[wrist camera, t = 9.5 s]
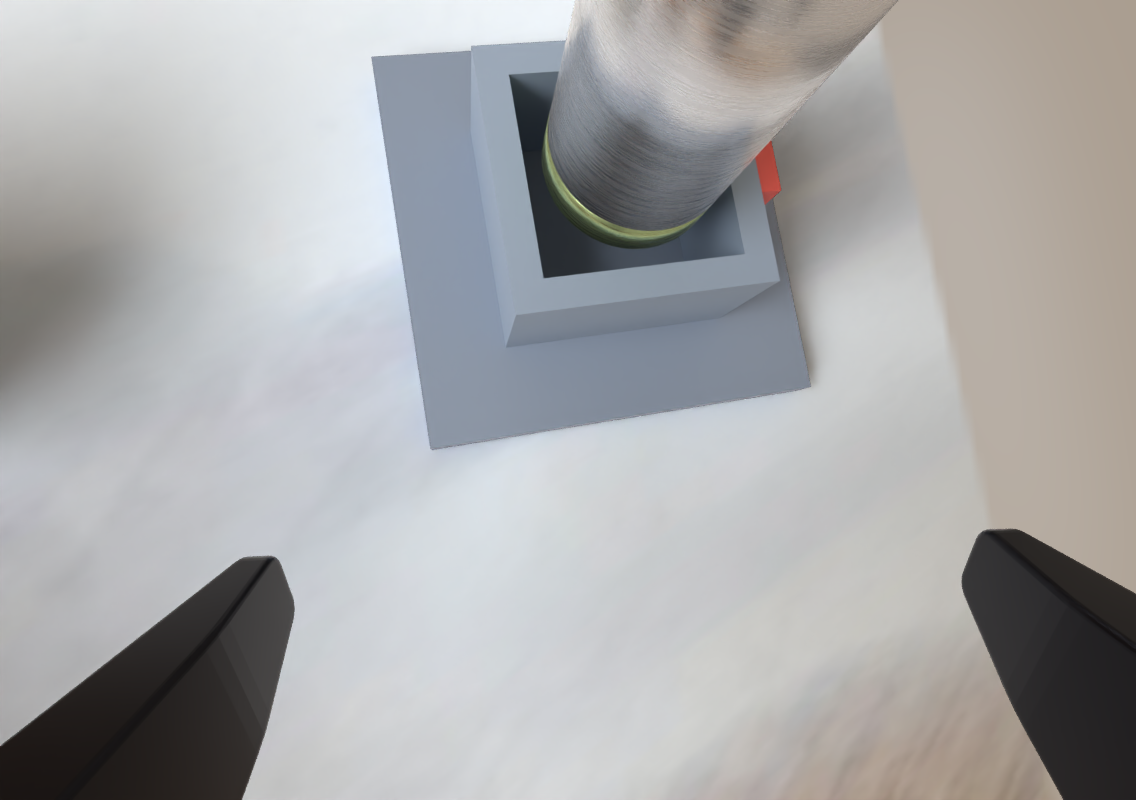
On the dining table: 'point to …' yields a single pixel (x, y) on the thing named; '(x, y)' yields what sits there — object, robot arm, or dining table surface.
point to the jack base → (564, 267)
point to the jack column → (681, 103)
